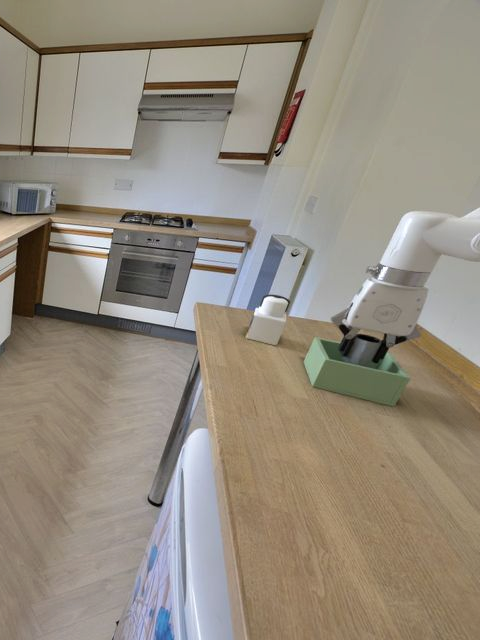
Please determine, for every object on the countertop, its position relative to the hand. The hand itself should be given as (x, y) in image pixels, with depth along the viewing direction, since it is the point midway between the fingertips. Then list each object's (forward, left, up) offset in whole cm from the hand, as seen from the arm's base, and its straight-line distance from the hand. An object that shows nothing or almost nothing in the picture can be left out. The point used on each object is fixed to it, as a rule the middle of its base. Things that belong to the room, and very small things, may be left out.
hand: (358, 356), depth 89 cm
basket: (0, 0, -7) cm, 7 cm away
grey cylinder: (0, 0, -6) cm, 6 cm away
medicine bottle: (+15, -18, -7) cm, 24 cm away
